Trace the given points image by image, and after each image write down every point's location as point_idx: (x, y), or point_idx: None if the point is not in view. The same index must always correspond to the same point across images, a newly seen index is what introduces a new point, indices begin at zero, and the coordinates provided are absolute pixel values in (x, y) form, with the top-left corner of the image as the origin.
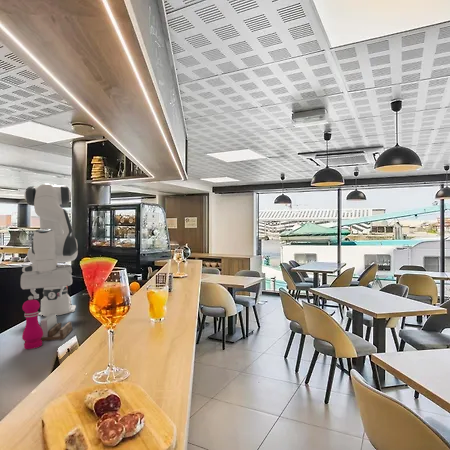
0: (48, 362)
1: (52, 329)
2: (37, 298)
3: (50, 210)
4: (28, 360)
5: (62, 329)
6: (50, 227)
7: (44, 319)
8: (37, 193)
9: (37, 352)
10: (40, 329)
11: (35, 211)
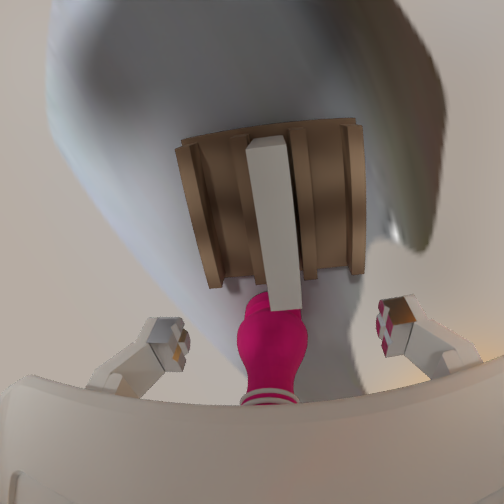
0: None
1: (313, 258)
2: (189, 341)
3: None
4: (311, 387)
5: (362, 269)
6: None
7: (280, 292)
8: None
9: (312, 355)
10: (303, 354)
11: None
